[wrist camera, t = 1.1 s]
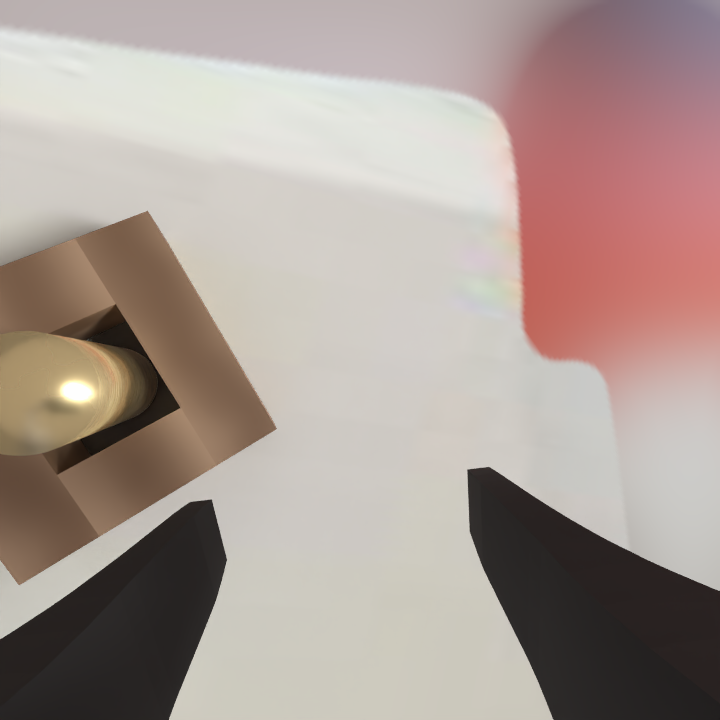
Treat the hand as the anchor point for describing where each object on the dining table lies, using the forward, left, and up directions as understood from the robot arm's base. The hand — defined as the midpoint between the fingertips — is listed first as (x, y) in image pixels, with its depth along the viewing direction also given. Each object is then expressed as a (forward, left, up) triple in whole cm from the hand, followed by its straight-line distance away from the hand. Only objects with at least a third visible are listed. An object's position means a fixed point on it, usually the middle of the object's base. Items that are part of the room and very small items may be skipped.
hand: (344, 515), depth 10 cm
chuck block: (-6, +8, -12) cm, 16 cm away
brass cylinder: (-6, +8, -12) cm, 16 cm away
